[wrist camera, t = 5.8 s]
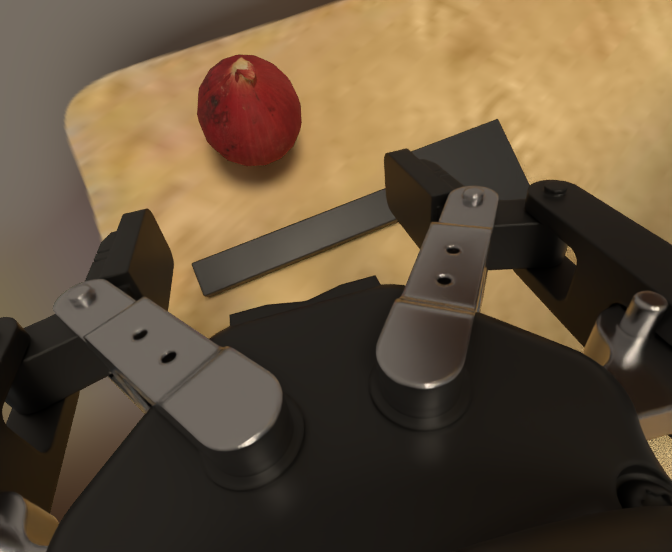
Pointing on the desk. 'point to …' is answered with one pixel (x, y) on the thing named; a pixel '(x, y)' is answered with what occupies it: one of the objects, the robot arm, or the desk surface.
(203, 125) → the onion
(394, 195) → the robot arm
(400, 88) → the desk surface
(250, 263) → the spatula
